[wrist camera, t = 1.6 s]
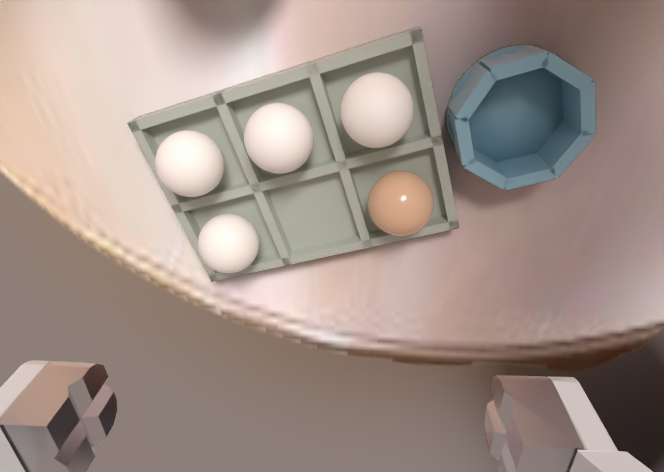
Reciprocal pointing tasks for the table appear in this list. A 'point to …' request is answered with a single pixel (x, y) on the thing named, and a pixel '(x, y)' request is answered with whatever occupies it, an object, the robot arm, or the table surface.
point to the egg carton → (300, 157)
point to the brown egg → (400, 203)
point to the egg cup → (521, 116)
